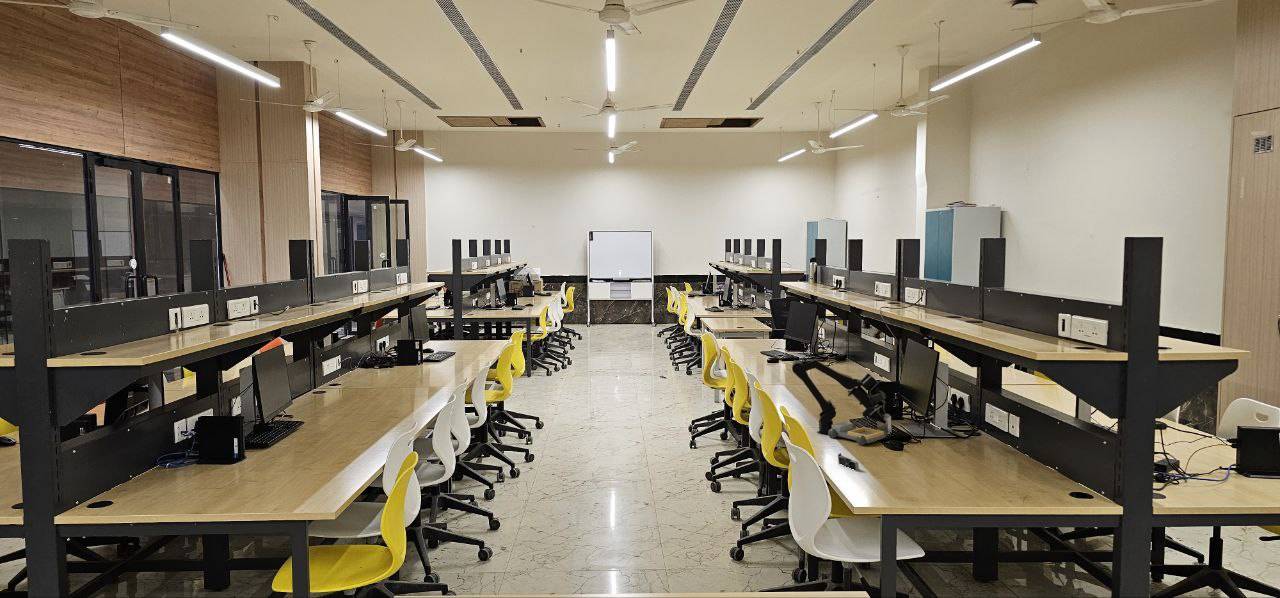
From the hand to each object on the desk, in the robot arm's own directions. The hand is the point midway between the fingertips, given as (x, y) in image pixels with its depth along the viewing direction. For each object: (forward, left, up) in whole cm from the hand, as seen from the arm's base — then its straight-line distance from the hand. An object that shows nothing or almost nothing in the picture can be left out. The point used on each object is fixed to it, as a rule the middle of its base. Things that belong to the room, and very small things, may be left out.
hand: (887, 421), depth 334 cm
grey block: (-1, -1, -7) cm, 7 cm away
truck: (-6, -15, -7) cm, 17 cm away
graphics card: (+19, -50, -7) cm, 54 cm away
